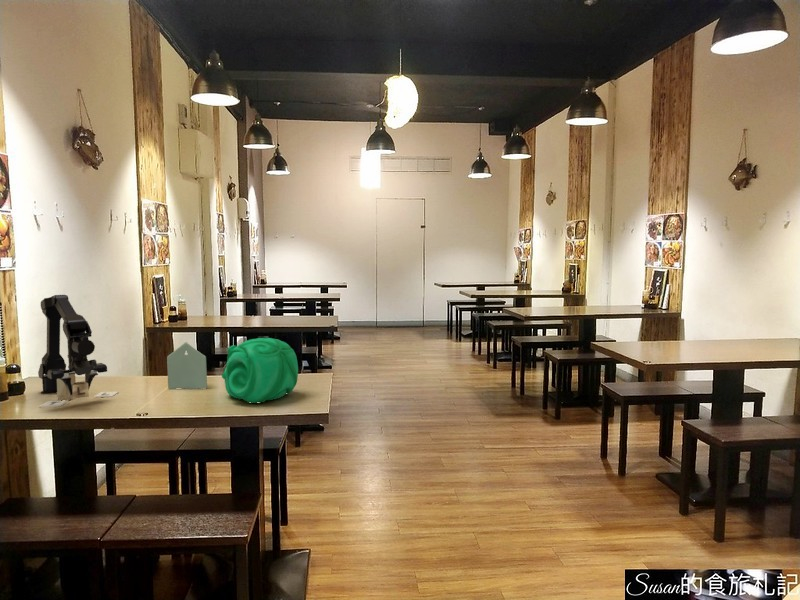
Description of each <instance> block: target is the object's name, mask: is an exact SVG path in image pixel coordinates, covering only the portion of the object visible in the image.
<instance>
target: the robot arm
mask: <svg viewBox="0 0 800 600" xmlns="http://www.w3.org/2000/svg"><path fill="white" fill-rule="evenodd" d="M40 309H41V312H42V313H43V315H44V316H45V318H46V351H45V352H46V353H44V355H43V356H42V358H41V363H40V365H39V367H38V372H37V374H38V378H39V379H41V381H42V390H41V391H40V394H54V393H55V392H57V379H60V380H62V381H63V382H64V384H65V385H66V387H67V389H68V391H69V393H70V395H72V387H71V378H70V377H69V374H75V375H76V376H82V375H84V382H87V383H88V389H89V390H90V387H91V384H92V382H93V379H94V378H95V377H96V376H99V374H101V373H106V372H108V366H107V365H106V364H105V363H102V362H97V360H96V359H90V360H88V356H90V355H91V354H92V353H94V351H95V348H96V346H95V343H94V342H93V341H92V340H90V339H89V338H91V337H92V332H93V331H92V329H91V326H90V324H89V322H88V321H87V320H86V318H85V317H84V316H83V315H81V314H78V313H77V312H76V310H75V309H74V307H73V305H72V304H71V302H70V300H69V296H68V295H66V294H54V295H52V296H50V297H45V298H43V299H42V300H41V301H40ZM61 320H62V321H63V323H62V331H63V333H64V336H65V337H66V340H67V342H66V343H67V358H68V359H67V361H68V366H67V364H66V362H65V358H63V356H62V355H61V354H60V353H61ZM66 368H68V369H66ZM73 371H74V372H73ZM98 373H99V374H98Z"/></svg>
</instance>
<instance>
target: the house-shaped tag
mask: <svg viewBox="0 0 800 600" xmlns="http://www.w3.org/2000/svg"><path fill="white" fill-rule="evenodd" d="M186 353H187V354H186ZM166 357H167V358H166V360H167V361H166V366H167V367H166V368H167V389H168V388H170V389H169V390H177V389H176V388H183V389H182V390H204V389H203V388H207V389H208V379H207V378H208V377H207V376H208V375H207V372H208V370H207V356H206V355H205V354H203V353H201V352H200V351H198V350H197V349H196V348H195V347H194V346H192V345H191V344H189V343H188V342H184V343H183V344H181V345H180V346H179V347H178V348H176V349H175V350H173V352H171V353H170V354H169V355H167V356H166ZM184 388H185V389H184ZM186 388H187V389H186ZM198 388H200V389H198ZM201 388H202V389H201Z"/></svg>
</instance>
